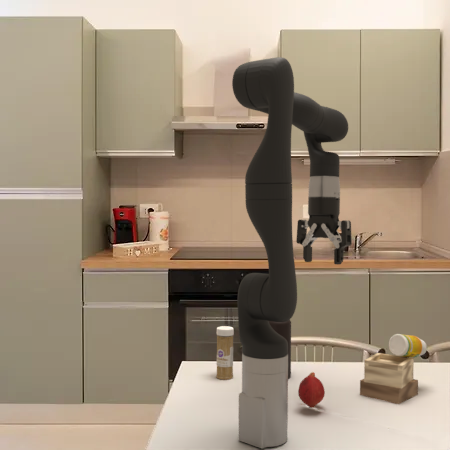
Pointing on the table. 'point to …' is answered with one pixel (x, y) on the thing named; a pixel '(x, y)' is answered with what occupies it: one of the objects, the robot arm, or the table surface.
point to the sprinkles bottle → (225, 352)
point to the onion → (311, 390)
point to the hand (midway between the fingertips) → (322, 263)
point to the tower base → (389, 391)
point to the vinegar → (285, 332)
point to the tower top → (388, 370)
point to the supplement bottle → (407, 346)
